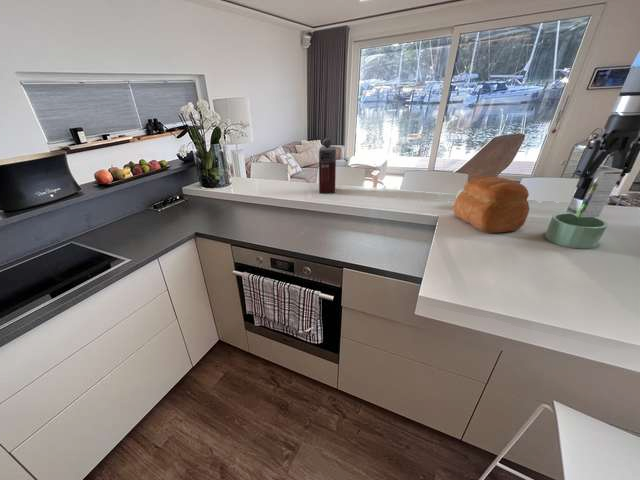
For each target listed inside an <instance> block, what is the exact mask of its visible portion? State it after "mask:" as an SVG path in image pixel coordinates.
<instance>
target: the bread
mask: <svg viewBox="0 0 640 480" xmlns="http://www.w3.org/2000/svg"><path fill="white" fill-rule="evenodd" d="M463 188H464V189H463ZM463 188H462V189H463V191H462V192H461V193H460V194H459V196H458V197H457V199H456V201H455V200H454V204H453V214H454V215H455V216H456V217H457V218H459V219H460V220H463V221H464V222H465V223H468V224H470V225H471V226H472V227H473V228H476V229H478V230H479V231H482V232H485V233H491V234H492V233H493V234H496V233H509V232H513V231H518V230H520V229H521V228H523V226H524V225H525V223H526V221H527V218H528V215H529V212H530V206H529V201H528V198H529V196H530V194H529V190H528V188H527V187H526V186H525V185H524V184H522V183H518V182H516V181H514V180H511V179H508V178H505V177H499V176H496V175H482V176H481V175H479V176H476V177H474V178H472V179H470V180H469V181H467V182H466V184H465V185H463Z"/></svg>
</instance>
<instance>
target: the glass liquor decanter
mask: <svg viewBox="0 0 640 480" xmlns="http://www.w3.org/2000/svg"><path fill="white" fill-rule="evenodd" d="M322 143H323V144H322V145H323V146H320V147H319V148H318V194H319V195H321V194H322V195H323V194H336V176H337V175H336V174H337V173H336V171H337V169H336V168H337V165H336V164H337V148H336V146H335V145H334V146H333V145H332V140H331V138H324V140H323V141H322Z"/></svg>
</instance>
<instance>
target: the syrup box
mask: <svg viewBox="0 0 640 480" xmlns="http://www.w3.org/2000/svg"><path fill="white" fill-rule="evenodd" d="M622 171H623V170H621V169H616V168H613V167H611V166H609V165H602V164H601V165H600V166H599V167H598V168H597V170H596V171H595V172H594V174H593V175H592V176H591V177H590V178H593V180H592V182H591V184H590V186H589V189H588V191H587V193H586V195H585V197H584V199H583V200H579V199H576V198H573V196H574V194H575V192H576V189H577V188H575V191H574V193H573V195H572V197H571V199H570V202H569V204H568V205H567V208H566V210H565V213H570V214H573V215H575V216H577V217H578V218H582V217H596V218H599V217H600V216H601V213H602V212H603V209H604V208H605V206H606V203H607V202H608V200H609V198H610V196H611V194H612V192H613V190H614V188H615V186H616V185H617V183H618V182H619V181H618V180H619V179H620V178H621V176H620V175H621V173H622ZM587 173H588V172H587ZM615 184H616V185H615Z"/></svg>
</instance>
